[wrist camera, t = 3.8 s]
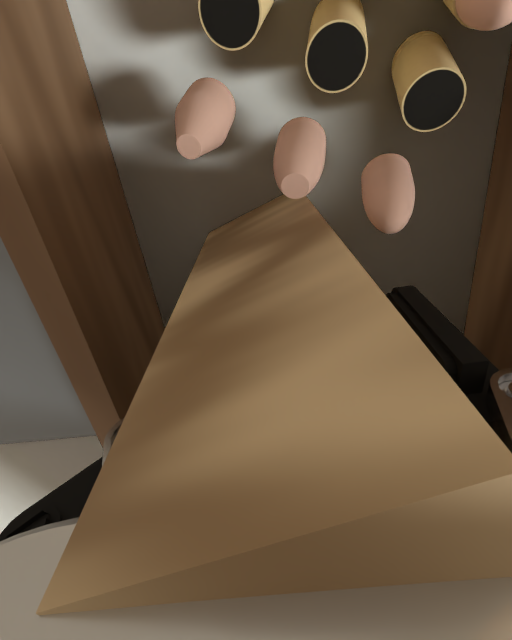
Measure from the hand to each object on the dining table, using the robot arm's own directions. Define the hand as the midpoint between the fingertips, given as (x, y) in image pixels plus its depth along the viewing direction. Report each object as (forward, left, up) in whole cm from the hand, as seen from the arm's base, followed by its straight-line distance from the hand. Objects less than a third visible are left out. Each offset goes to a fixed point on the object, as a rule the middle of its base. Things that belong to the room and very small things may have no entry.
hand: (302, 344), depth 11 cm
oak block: (0, +1, -5) cm, 5 cm away
